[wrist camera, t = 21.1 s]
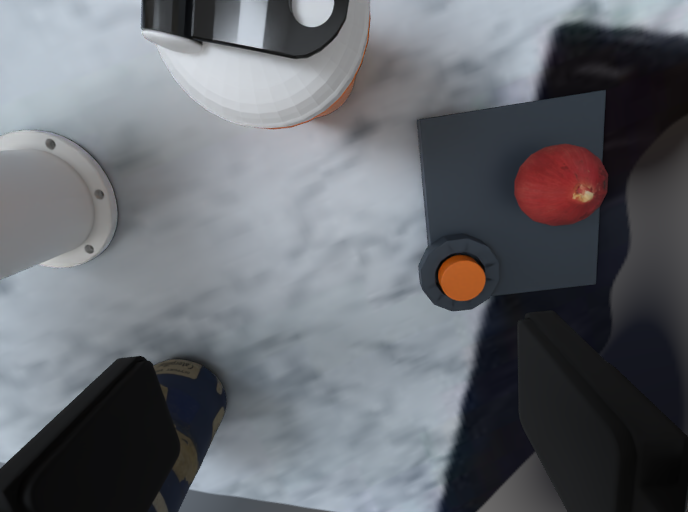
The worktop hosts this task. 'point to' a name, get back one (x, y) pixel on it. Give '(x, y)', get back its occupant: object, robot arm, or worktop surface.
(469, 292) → the button
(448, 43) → the worktop surface
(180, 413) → the canister
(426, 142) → the scale
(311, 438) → the worktop surface
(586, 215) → the onion
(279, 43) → the shaker bottle
